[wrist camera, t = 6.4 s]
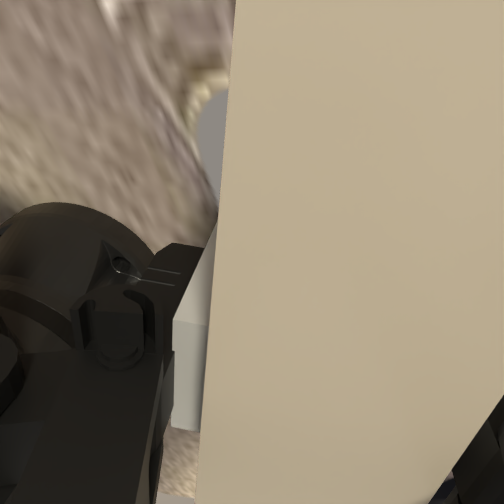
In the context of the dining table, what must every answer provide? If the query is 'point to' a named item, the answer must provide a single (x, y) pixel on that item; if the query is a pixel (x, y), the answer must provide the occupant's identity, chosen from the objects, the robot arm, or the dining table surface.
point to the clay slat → (355, 251)
